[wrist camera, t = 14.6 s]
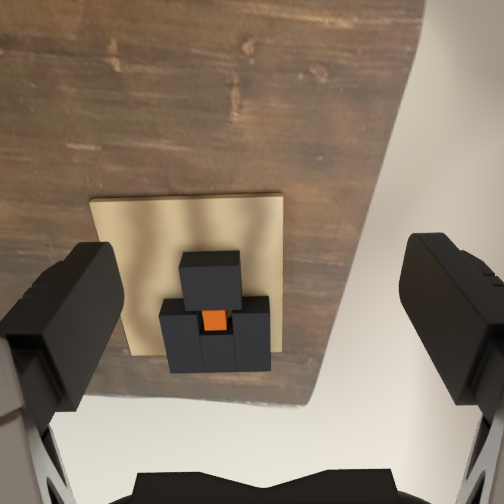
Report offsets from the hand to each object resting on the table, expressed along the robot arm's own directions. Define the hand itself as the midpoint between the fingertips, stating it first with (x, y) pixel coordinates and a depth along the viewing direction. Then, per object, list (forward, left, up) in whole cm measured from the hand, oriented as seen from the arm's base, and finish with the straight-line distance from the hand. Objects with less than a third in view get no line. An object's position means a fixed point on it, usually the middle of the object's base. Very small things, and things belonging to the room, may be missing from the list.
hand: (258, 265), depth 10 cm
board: (+7, +19, -26) cm, 33 cm away
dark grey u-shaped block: (+5, +25, -25) cm, 36 cm away
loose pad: (+5, +19, -25) cm, 32 cm away
